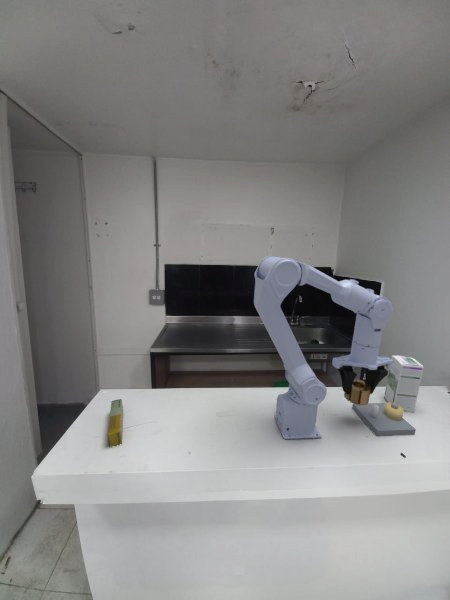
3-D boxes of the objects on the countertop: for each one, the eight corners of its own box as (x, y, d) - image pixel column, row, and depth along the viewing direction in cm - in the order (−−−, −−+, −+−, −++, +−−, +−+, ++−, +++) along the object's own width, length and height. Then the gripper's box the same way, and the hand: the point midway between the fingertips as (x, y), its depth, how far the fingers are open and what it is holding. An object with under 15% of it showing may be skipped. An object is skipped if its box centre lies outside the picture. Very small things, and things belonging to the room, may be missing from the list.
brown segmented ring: (352, 405, 57) (354, 391, 56) (340, 392, 63) (342, 379, 62) (373, 404, 58) (375, 390, 57) (359, 391, 63) (361, 378, 62)
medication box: (112, 413, 63) (111, 400, 62) (123, 410, 64) (122, 398, 63) (109, 449, 52) (107, 434, 51) (122, 445, 53) (120, 430, 52)
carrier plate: (376, 436, 57) (380, 418, 56) (352, 408, 67) (354, 393, 66) (414, 434, 58) (418, 417, 57) (384, 407, 68) (387, 392, 66)
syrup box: (414, 412, 66) (426, 366, 62) (391, 409, 67) (401, 363, 64) (404, 400, 71) (414, 356, 68) (382, 397, 72) (391, 354, 69)
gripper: (347, 350, 52) (338, 402, 55) (407, 349, 53) (395, 401, 56) (330, 337, 59) (324, 385, 62) (384, 337, 60) (375, 384, 63)
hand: (357, 391), depth 60 cm, fingers closed on brown segmented ring, 5 cm apart
